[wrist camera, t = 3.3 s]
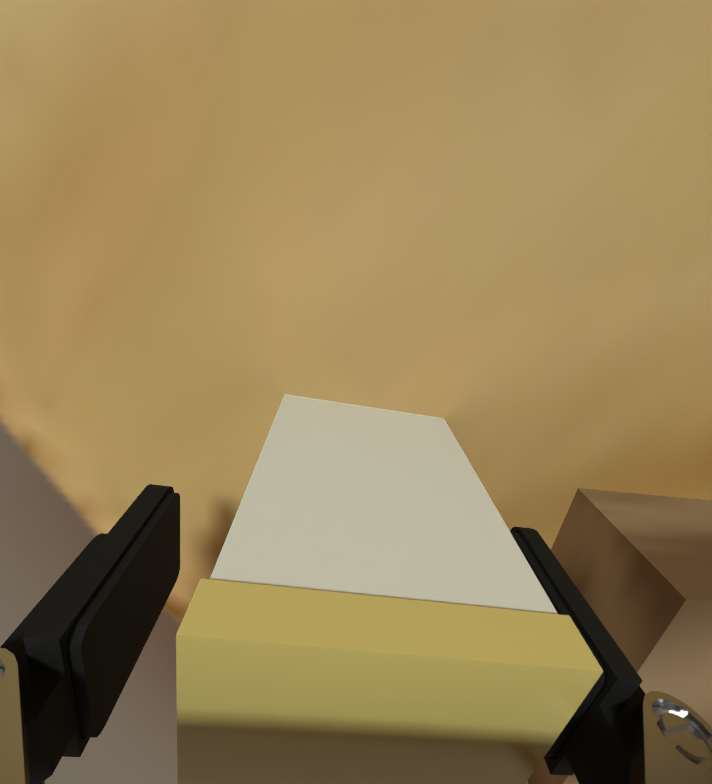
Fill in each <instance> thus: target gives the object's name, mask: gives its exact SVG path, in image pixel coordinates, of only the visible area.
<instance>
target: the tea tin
mask: <svg viewBox="0 0 712 784" xmlns="http://www.w3.org/2000/svg"><path fill="white" fill-rule="evenodd" d="M176 665H177V666H176V669H177V746H178V747H177V749H178V750H177V753H178V784H526V782H527V781H528V780H529V778H530V777H531V775H532V774H533V772H534V771H535V769H536V768H537V767H538V765H539V764H540V762H541V761H542V759H543V758H544V756H545V755H546V754H547V752H548V751H549V749H550V748H551V746H552V745H553V744H554V742H555V741H556V739H557V738H558V736H559V735H560V733H561V732H562V731H563V729H564V728H565V726H566V725H567V723H568V722H569V720H570V719H571V718H572V716H573V715H574V713H575V712H576V710H577V709H578V707H579V706H580V705H581V703H582V702H583V700H584V699H585V697H586V696H587V694H588V693H589V692H590V690H591V689H592V687H593V686H594V684H595V683H596V682H597V680H598V679H599V677H600V676H601V674H602V673H603V670H602V668H601V666H600V665H599V663H598V662H597V660H596V658H595V657H594V655H593V653H592V652H591V650H590V648H589V647H588V645H587V644H586V642H585V640H584V639H583V637H582V635H581V634H580V632H579V630H578V629H577V627H576V626H575V624H574V622H573V621H572V619H571V617H570V616H569V615H559V614H558V613H557V611H556V610H555V608H554V606H553V605H552V603H551V601H550V599H549V598H548V596H547V594H546V593H545V591H544V589H543V587H542V586H541V584H540V582H539V581H538V579H537V577H536V576H535V574H534V572H533V570H532V569H531V567H530V565H529V564H528V562H527V560H526V558H525V557H524V555H523V553H522V552H521V550H520V548H519V546H518V545H517V543H516V541H515V540H514V538H513V536H512V534H511V533H510V531H509V529H508V528H507V526H506V524H505V522H504V521H503V519H502V517H501V516H500V514H499V512H498V510H497V509H496V507H495V505H494V504H493V502H492V500H491V498H490V497H489V495H488V493H487V492H486V490H485V488H484V486H483V485H482V483H481V481H480V480H479V478H478V476H477V474H476V473H475V471H474V469H473V468H472V466H471V464H470V462H469V461H468V459H467V457H466V456H465V454H464V452H463V450H462V449H461V447H460V445H459V444H458V442H457V440H456V438H455V437H454V435H453V433H452V432H451V430H450V428H449V426H448V425H447V423H446V421H445V420H444V418H438V417H432V416H425V415H419V414H412V413H406V412H399V411H392V410H386V409H379V408H373V407H366V406H360V405H353V404H346V403H340V402H333V401H327V400H320V399H314V398H307V397H300V396H294V395H287V394H285V395H284V397H283V400H282V402H281V404H280V407H279V409H278V412H277V414H276V417H275V419H274V422H273V424H272V427H271V429H270V432H269V434H268V437H267V439H266V441H265V444H264V446H263V449H262V451H261V454H260V456H259V459H258V461H257V464H256V466H255V469H254V471H253V473H252V476H251V478H250V481H249V483H248V486H247V488H246V491H245V493H244V496H243V498H242V501H241V503H240V505H239V508H238V510H237V513H236V515H235V518H234V520H233V523H232V525H231V528H230V530H229V533H228V535H227V538H226V540H225V542H224V545H223V547H222V550H221V552H220V555H219V557H218V560H217V562H216V565H215V567H214V570H213V572H212V574H211V577H210V579H200V581H199V583H198V586H197V588H196V590H195V592H194V595H193V597H192V599H191V602H190V604H189V606H188V609H187V611H186V613H185V616H184V618H183V620H182V622H181V625H180V627H179V629H178V632H177V634H176Z"/></svg>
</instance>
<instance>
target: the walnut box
mask: <svg viewBox="0 0 712 784" xmlns="http://www.w3.org/2000/svg"><path fill="white" fill-rule="evenodd" d="M551 551H552V553H553V554H554V556H555V557H556V559H557V560H558V561H559V563H560V564H561V566H562V567H563V568H564V570H565V571H566V573H567V574H568V576H569V577H570V578H571V580H572V581H573V583H574V584H575V585H576V587H577V588H578V590H579V591H580V593H581V594H582V595H583V597H584V598H585V600H586V601H587V602H588V604H589V605H590V607H591V608H592V610H593V611H594V612H595V614H596V615H597V617H598V618H599V619H600V621H601V622H602V624H603V625H604V627H605V628H606V629H607V631H608V632H609V634H610V635H611V636H612V638H613V639H614V641H615V642H616V644H617V645H618V646H619V648H620V649H621V651H622V652H623V653H624V655H625V656H626V658H627V659H628V661H629V662H630V663H631V665H632V666H633V668H634V669H635V670H636V672H637V673H638V675H639V676H640V678H641V679H642V680H643V681H642V683H641V684H640V687H641V688H642V690H643V691H644V693H645V694H647V693H649V692H650V691H660V692H663V693H666V694H669V695H671V696H673V697H675V698H677V699H679V700H681V701H682V702H684V703H685V704H686V705H688V706H689V707H690V708H692V709H693V710H694V711H696V712H697V713H698V714H699V715H700V716H701V717H702V718H703V719H704V720H705V721H706V722H707V723H708V724H709V725H710V726H711V727H712V501H710V500H699V499H688V498H677V497H666V496H655V495H644V494H633V493H622V492H611V491H600V490H590V489H579V488H578V490H577V492H576V494H575V497H574V499H573V501H572V503H571V506H570V508H569V510H568V513H567V515H566V517H565V519H564V522H563V524H562V526H561V528H560V531H559V533H558V535H557V537H556V540H555V542H554V544H553V547H552V549H551ZM528 784H579V783H578V781H577V778H576V776H575V774H573V775H551V774H550V772H549V769H548V767H547V764H546V762H545V759H544V758H543V759H542V761H541V762H540V764H539V765H538V767H537V768H536V769H535V771H534V772H533V774H532V775H531V777H530V778H529V780H528Z"/></svg>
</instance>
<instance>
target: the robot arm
mask: <svg viewBox="0 0 712 784" xmlns="http://www.w3.org/2000/svg"><path fill="white" fill-rule="evenodd" d="M510 533H511V534H512V536H513V538H514V540H515V541H516V543H517V545H518V546H519V548H520V550H521V552H522V553H523V555H524V557H525V558H526V560H527V562H528V564H529V565H530V567H531V569H532V570H533V572H534V574H535V576H536V577H537V579H538V581H539V582H540V584H541V586H542V587H543V589H544V591H545V593H546V594H547V596H548V598H549V599H550V601H551V603H552V605H553V606H554V608H555V610H556V611H557V613H558V614H559V615H569V616H570V617H571V619H572V621H573V622H574V624H575V626H576V627H577V629H578V630H579V632H580V634H581V635H582V637H583V639H584V640H585V642H586V644H587V645H588V647H589V648H590V650H591V652H592V653H593V655H594V657H595V658H596V660H597V662H598V663H599V665H600V666H601V668H602V670H603V673H602V674H601V676H600V677H599V679H598V680H597V682H596V683H595V684H594V686H593V687H592V689H591V690H590V692H589V693H588V694H587V696H586V697H585V699H584V700H583V702H582V703H581V705H580V706H579V707H578V709H577V710H576V712H575V713H574V715H573V716H572V718H571V719H570V720H569V722H568V723H567V725H566V726H565V728H564V729H563V731H562V732H561V733H560V735H559V736H558V738H557V739H556V741H555V742H554V744H553V745H552V746H551V748H550V749H549V751H548V752H547V754H546V755H545V756H544V759H545V762H546V764H547V767H548V769H549V772H550V774H551V775H573V774H575V776H576V778H577V781H578V783H579V784H712V727H711V726H710V725H709V724H708V723H707V722H706V721H705V720H704V719H703V718H702V717H701V716H700V715H699V714H698V713H697V712H696V711H694V710H693V709H692V708H690V707H689V706H688V705H686V704H685V703H684V702H682V701H681V700H679V699H677V698H675V697H673V696H671V695H669V694H666V693H663V692H660V691H650V692H649V693H647V694H645V693H644V691H643V690H642V688H641V687H640V684H641V683H642V681H643V680H642V679H641V678H640V676H639V675H638V673H637V672H636V670H635V669H634V668H633V666H632V665H631V663H630V662H629V661H628V659H627V658H626V656H625V655H624V653H623V652H622V651H621V649H620V648H619V646H618V645H617V644H616V642H615V641H614V639H613V638H612V636H611V635H610V634H609V632H608V631H607V629H606V628H605V627H604V625H603V624H602V622H601V621H600V619H599V618H598V617H597V615H596V614H595V612H594V611H593V610H592V608H591V607H590V605H589V604H588V602H587V601H586V600H585V598H584V597H583V595H582V594H581V593H580V591H579V590H578V588H577V587H576V585H575V584H574V583H573V581H572V580H571V578H570V577H569V576H568V574H567V573H566V571H565V570H564V568H563V567H562V566H561V564H560V563H559V561H558V560H557V559H556V557H555V556H554V554H553V553H552V551H551V550H550V549H549V547H548V546H547V544H546V543H545V542H544V540H543V539H542V537H541V536H540V534H539V533H538V532H537V531H536V530H534V529H530V528H522V527H513V528H512V529H511V531H510ZM179 570H180V495H179V494H178V493H174V489H173V487H169V486H160V485H152V484H150V485H148V486H147V487H146V488H145V489H144V490H143V491H142V492H141V494H140V495H139V496H138V497H137V499H136V500H135V501H134V502H133V503H132V505H131V506H130V507H129V508H128V510H127V511H126V512H125V513H124V514H123V516H122V517H121V518H120V519H119V521H118V522H117V523H116V524H115V525H114V527H113V528H112V529H111V530H110V532H109V533H108V534H103V533H101V534H99V535H97V536H96V537H95V538H94V539H93V540H92V541H91V542H90V543H89V544H88V545H87V546H86V548H85V549H84V550H83V551H82V552H81V554H80V555H79V556H78V557H77V558H76V559H75V561H74V562H73V563H72V564H71V565H70V566H69V568H68V569H67V570H66V571H65V572H64V574H63V575H62V576H61V577H60V578H59V579H58V580H57V582H56V583H55V584H54V585H53V586H52V587H51V589H50V590H49V591H48V592H47V593H46V594H45V596H44V597H43V598H42V599H41V600H40V602H39V603H38V604H37V605H36V606H35V607H34V609H33V610H32V611H31V612H30V613H29V614H28V616H27V617H26V618H25V619H24V620H23V621H22V623H21V624H20V625H19V626H18V627H17V628H16V630H15V631H14V632H13V633H12V634H11V635H10V637H9V638H8V639H7V640H6V641H5V643H4V644H3V645H2V646H1V647H0V784H45V780H46V779H47V778H48V777H50V776H51V775H52V774H53V772H54V770H55V768H56V766H57V765H58V763H59V761H60V759H61V757H62V756H67V757H68V756H69V757H80V756H81V754H82V752H83V750H84V748H85V746H86V744H87V743H88V740H89V739H90V737H97V736H98V735H99V734H100V733H101V731H102V730H103V728H104V726H105V725H106V722H107V720H108V718H109V716H110V714H111V712H112V710H113V708H114V706H115V704H116V702H117V700H118V698H119V696H120V694H121V692H122V690H123V688H124V686H125V684H126V682H127V680H128V678H129V676H130V674H131V672H132V669H133V668H134V665H135V664H136V662H137V660H138V657H139V656H140V654H141V652H142V650H143V647H144V645H145V643H146V641H147V639H148V637H149V635H150V633H151V631H152V629H153V627H154V625H155V623H156V621H157V619H158V617H159V615H160V613H161V611H162V609H163V607H164V605H165V603H166V601H167V599H168V597H169V595H170V593H171V591H172V589H173V587H174V585H175V583H176V580H177V578H178V574H179Z"/></svg>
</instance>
